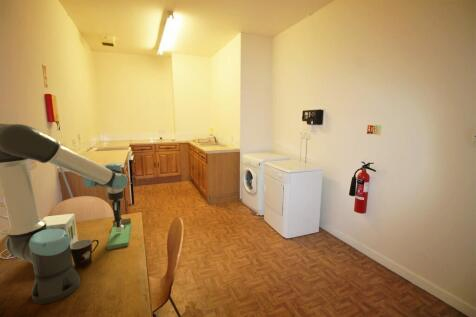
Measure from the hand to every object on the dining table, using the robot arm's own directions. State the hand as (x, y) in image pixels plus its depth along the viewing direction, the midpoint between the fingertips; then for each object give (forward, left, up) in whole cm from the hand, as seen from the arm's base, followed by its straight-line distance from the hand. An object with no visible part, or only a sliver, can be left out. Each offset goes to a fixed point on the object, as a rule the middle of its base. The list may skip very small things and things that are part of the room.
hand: (119, 231), depth 134 cm
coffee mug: (-22, +12, -3) cm, 25 cm away
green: (0, 0, -3) cm, 3 cm away
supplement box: (-7, +27, -3) cm, 28 cm away
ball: (+7, 0, -1) cm, 8 cm away
